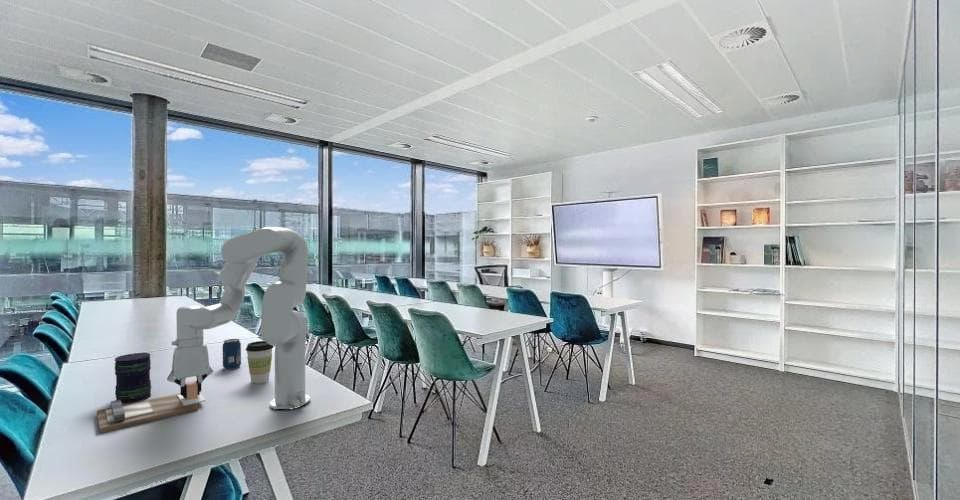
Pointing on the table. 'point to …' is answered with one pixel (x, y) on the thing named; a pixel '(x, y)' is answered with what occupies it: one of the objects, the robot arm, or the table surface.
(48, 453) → the table surface
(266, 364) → the coffee cup
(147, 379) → the storage jar
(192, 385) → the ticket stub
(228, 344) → the soda can
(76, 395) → the table surface
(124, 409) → the board
